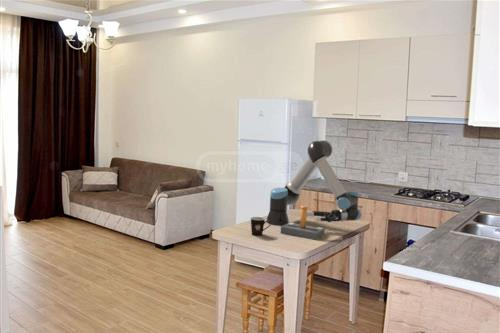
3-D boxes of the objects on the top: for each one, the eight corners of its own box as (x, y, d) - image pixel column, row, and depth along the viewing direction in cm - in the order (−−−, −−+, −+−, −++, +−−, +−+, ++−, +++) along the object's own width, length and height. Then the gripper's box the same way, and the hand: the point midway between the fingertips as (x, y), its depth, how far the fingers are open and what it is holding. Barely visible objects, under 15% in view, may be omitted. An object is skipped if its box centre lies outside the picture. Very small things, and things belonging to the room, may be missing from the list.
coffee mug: (247, 235, 269) (248, 219, 268) (252, 231, 277) (253, 216, 276) (265, 237, 265) (266, 221, 264) (270, 234, 273) (271, 218, 272)
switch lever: (298, 232, 277) (299, 206, 275) (300, 231, 281) (302, 205, 279) (304, 233, 275) (306, 207, 273) (307, 232, 279) (308, 206, 277)
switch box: (280, 233, 278) (280, 226, 277) (289, 228, 290) (289, 222, 289) (316, 239, 267) (317, 232, 266) (324, 234, 279) (324, 227, 278)
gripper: (349, 225, 275) (320, 227, 267) (327, 216, 298) (300, 218, 290) (350, 214, 274) (321, 215, 266) (328, 205, 297) (300, 206, 289)
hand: (310, 216), depth 278 cm, fingers open, 13 cm apart
